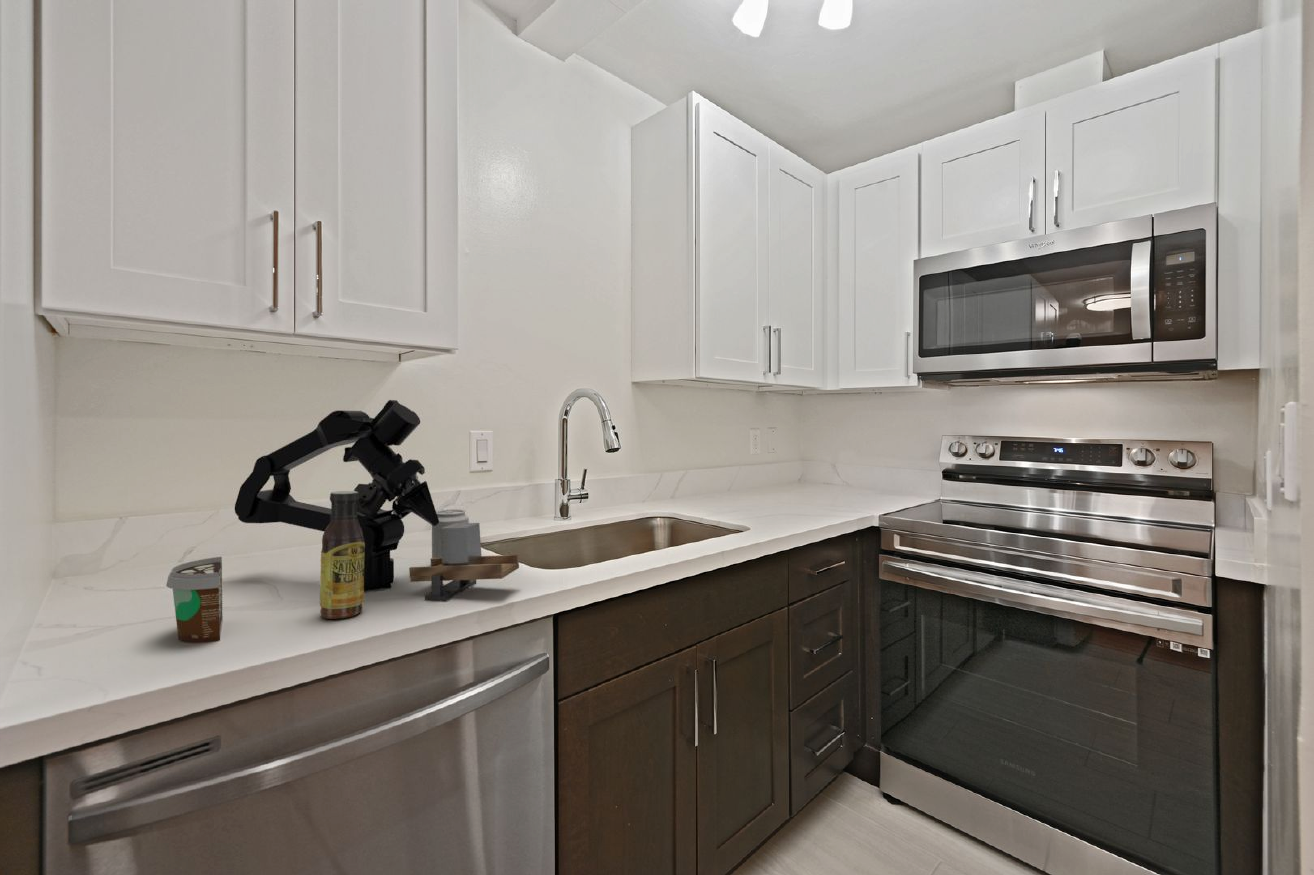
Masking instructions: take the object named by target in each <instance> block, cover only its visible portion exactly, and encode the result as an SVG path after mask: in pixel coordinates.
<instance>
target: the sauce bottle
mask: <svg viewBox="0 0 1314 875" xmlns="http://www.w3.org/2000/svg"><path fill="white" fill-rule="evenodd" d="M358 499H359V498H358V492H357V491H354V490H353V491H351V490H344V491H343V490H342V491H340V490H339V491H332V492H330V494H329V501H330V502H331V504H330V509H331V516H330V518H331V522H330V523H329V525H328V526H327V527H326V528H325V532H324V531H323V534H322V538H321V546H322V547H321V551H320V585H319V586H320V588H319V607H320V617H321V618H324V619H327V620H338V619H339V620H340V619H347V618H351V617H354V616H357V615H358V614H360V613H361V612H362V610H363V603H364V595H365V594H364V593H365V591H364V554H365V542H364V538H363V533H362V529H361V527H360V525H359V522H358V519H357V501H358Z"/></svg>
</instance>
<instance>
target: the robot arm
mask: <svg viewBox="0 0 1314 875" xmlns="http://www.w3.org/2000/svg"><path fill="white" fill-rule="evenodd" d="M420 424H421V420H420V417H419V415H418V414H417V413H416V412H415V411H413V410H411V409H410V408H408V407H407V406H406V405H403V404H401V403H399V402H398V400H393V399H388V401H387V402H385V404H384V406H383V407H382V409H381V410H380V411H379V412H378V413H377V414H376V415H375V417H370V416H369V415H368V414H367V412H365V411H362V410H334V411H332V412H330V413H329V414H327V416H325V417H324V418H322V419H321V420H320V421H319V422H318V424H317V427H316V428H315V429H313V430H312V431H311V432H309V433H306V434H305V435H304V436H301V437H299V438H297V439H296V440H295V439H294V440H293V441H291V442H289V443H288V444H286V445H284V446H282V447H280V448H278V449H276V450H274V451H272V452H270V453H268V454H266V455H262V456H260V457H259V458H257V459H256V461H255V463H254V466H253V469H252V472H251V473H250V474H249V475H248V476H247V478H246V479H245V481H244V482H242V484H241V485H240V488H239V490H238V494H237V498H236V501H235V503H234V513H235V514H236V516H237V517H238V518H237V519H238V520H239V521H240V522H242V523H245V524H270V523H284V524H287V525H292V526H297V527H303V528H306V529H310V530H315V531H320V532H323V533H324V532H325V528H326V527H327V526H328V525H329V523H330V522H331V518H330V516H331V507H325V506H320V505H315V504H311V503H306V502H302V501H297V500H295V498H294V497H293V496H292V495H291V494H290V493H291V490H292V486H291V482H290V476H289V474H290V471H291V470H292V469H295V468H296V467H298V466H300V465H302V464H304V463H306V462H308V461H311V459H314V458H315V457H318V456H320V455H322V454H324V453H326V452H327V451H329V450H331V449H334V448H338V447H342V446H345V445H351V444H352V446H347V447H346V446H345V447H344V454H343V457H342V461H343V463H348V462H359V463H360V464H361V465H362V466H363V469H365V470H366V471H367V472H368V473H369V475H370V476H371V478H372V480H371V481H372V482H368V483H358V484H357V485H356V486H355V488H354V489H353V491H357V492H358V498H359V499H358V501H357V519H358V522H359V525H360V527H361V529H362V533H363V538H364V542H365V554H364V592H368V591H377V590H387V589H391V588H392V584H394V583H395V572H394V571H395V566H394V565H395V563H394V558H393V557H391V551H396V550H397V549H398V545H399V543H400V540H402V538H403V536H404V535H405V534H404V533H405V524H404V522H403V520H402V519H404V518H405V517H407V516H408V515H409V514H410V513H412V514H413V515H414V514H415V515H417V517H420V519H422V520H424V521H425V522H427V523H428V524H430V525H431V526H432V525H433V526H436V525H438V524H439V519H438V516H437V513H436V508H435V505H434V501H433V497H432V495H431V491H430V488H429V485H428V482H427V481H425V480H424V481H422V482H421V481H420V480H419V477H418V475H417V474H420V475H421V476H422V475H424V474H425V473H426V472H425V467H424V466H423V464H422V462H420V461H419V460H418V459H408V460H407V461H405V462H404V460H403V456H402V455H401V454H400V453H399V452H398V453H396V452H395V450H393V449H392V448H391V447H392V446H400V445H402V444H403V443H404V442H405V441H406V440H407V438H409V436H410V435H412V433H413V431H415V430H416V429H417V428H418V427H419V425H420ZM271 477H273V482H274V485H273V486H272V489H265V490H262V489H263V488H264V486H265V485H266V484H267V482H269V480H270V478H271ZM387 501H388V502H389V503H391V502H392V506H391V509H389V510H387V509H386V510H385V509H383V508H382V507H383V506H384V504H386V502H387Z"/></svg>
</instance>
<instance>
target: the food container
mask: <svg viewBox="0 0 1314 875" xmlns="http://www.w3.org/2000/svg"><path fill="white" fill-rule="evenodd" d="M222 559H223V558H222V556H215V557H209V558H208V557H207V558H202V559H201V558H200V559H197V560H193V561H188V562H184V563H180V564H178V565H176V566H174V567H173V568H171V569H170V570H171V571H170V572H169V574H168V576H167V581H166V583H165V584H166V587H167V588H169V589H172V595H173V606H174V611H175V620H176V621H175V622H176V629H177V639H178V640H179V641H180V642H183V643H188V644H201V643H202V644H203V643H212V642H219V641H221V636H222V628H223V622H224V620H223V619H224V618H223V617H224V616H223V560H222Z"/></svg>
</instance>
